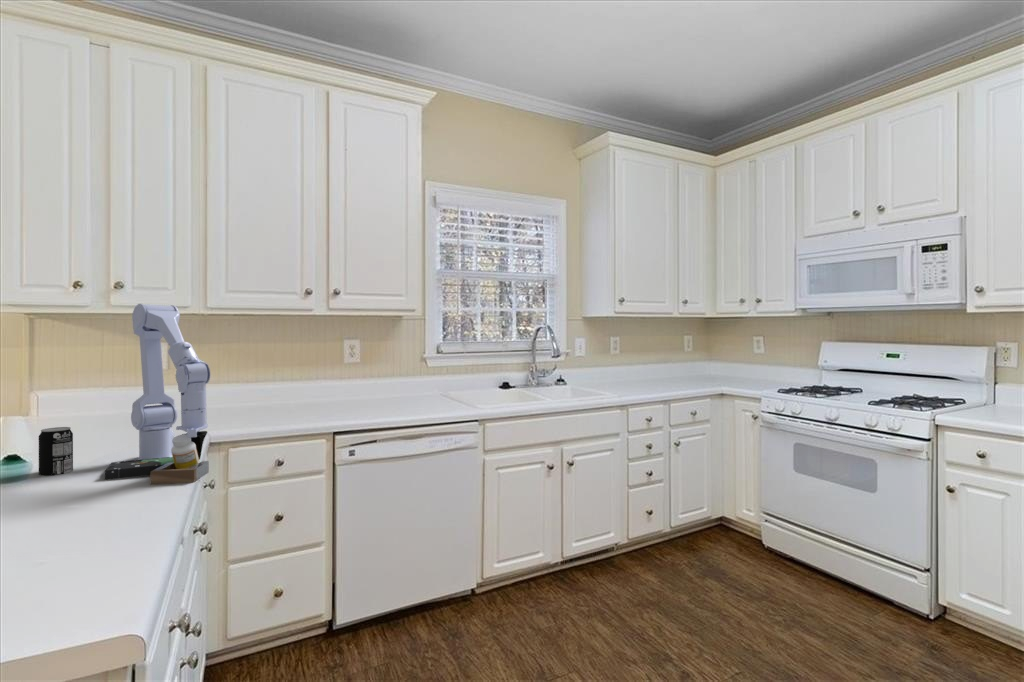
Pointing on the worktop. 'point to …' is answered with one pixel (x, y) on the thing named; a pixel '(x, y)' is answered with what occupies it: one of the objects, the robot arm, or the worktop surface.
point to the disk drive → (135, 467)
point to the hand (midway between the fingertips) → (195, 460)
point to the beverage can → (55, 451)
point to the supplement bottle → (184, 452)
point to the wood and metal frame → (178, 473)
